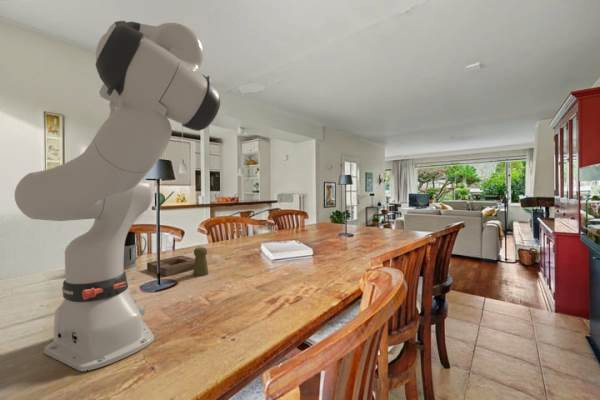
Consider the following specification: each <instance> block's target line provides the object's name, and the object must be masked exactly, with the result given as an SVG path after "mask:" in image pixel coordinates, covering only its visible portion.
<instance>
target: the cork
mask: <svg viewBox="0 0 600 400" xmlns="http://www.w3.org/2000/svg"><path fill="white" fill-rule="evenodd" d="M193 255H194V256H195V257H194V259H195V263H194V270H192V276H193V277H197V278H198V277H206V276H208V275H209V269H208V268H209V267H208V260H207V255H208V248H206V247H203V246H202V247H200V246H199V247H196V248H194V250H193Z"/></svg>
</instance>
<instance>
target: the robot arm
mask: <svg viewBox="0 0 600 400" xmlns="http://www.w3.org/2000/svg"><path fill="white" fill-rule="evenodd" d="M95 49H96V51H95V58H96V60H95V61H96V62H95V68H96V71H97V73H98V75H99V78H100V80H101V81H102V83H103V85H101V87H100V90H99V92H98V93H99V95H100V98H103V99H104V100H106V101H108V102H109V104H108V106H109V108H110V112H109V116H108V117H107V119H105V121H104V122H103V124H101V126H100V128H99V129H98V131H97V132H96V134H95V135H94V137H93V139H92V140H91V142H90V144H89V145H88V146H87V148H86V149H85V150H84V151H83V152H82V153H81V154H80V155H78V156H77V157H75V158H73V159H72V160H69V161H67V162H65V163H63V164H60V165H58V166H55V167H52V168H48V169H44V170H39V171H33V172H29V173H27V174H26V175H24V176H23V177H22V178H21V179H20V180H19V182H18V184H17V185H16V187H15V189H14V201H15V203H16V204H15V205H16V206H17V207H18V210H20V212H21V213H22V214H23V215H25V216H26V217H28V218H29V219H31V220H39V221H40V220H41V221H55V222H67V221H78V220H79V221H82V220H93V219H94V221H93V225H92V226H91V228H89V230H88V231H87V232H85V233H82V234H81V235H78V236H77V237H76V238H74V239H73V240H71V241H70V242H68V244H67V246H66V248H65V249H64V270H65V271H64V274H65V275H64V276H65V278H64V280H63V282H62V286H61V287H62V288H61V289H62V290H61V291H62V297H63V298H64V299H63V300H62V303H61V304H60V305H59V306H58V307H57V308H56V309H55V311H54V320H53V323H54V324H53V325H54V326H53V341H52V342H50V343H49V344H47V345H46V346H45V347H44V349H43V353H44V354H45V355H46V356H49V357H51V358H53V359H55V360H57V361H59V362H60V363H63V364H65V365H67V366H69V367H71V368H73V369H75V370H77V371H79V372H87V370H88V371H92V370H95V369H99V368H102V367H105V366H108V365H111V364H113V363H115V362H118V361H120V360H122V359H125V358H126V357H129V356H131V355H133V354H135V353H137V352H139V351H141V350H143V349H144V348H146V347H148V345H150V344H151V343H152V342H154V340H155V336H154V334H153V332H152V331H151V329H150V328H149V327H148V325H147V324H146V323H145V321H144V320H143V319H142V316H144V315H145V312H146V311H145V306H144V305H139V306H138V305H137V304H136V303H137V297H135V296H134V297H133V295H132V293H131V292H130V290H129V285H128V284H129V283H128V277H127V274H126V273H127V272H126V271H125V269H124V245H125V240H126V236H127V234H128V232H130V230H131V227H132V225H133V224H134V223H135V222H136V220H137V219H138V218H139V217H140V216H141V215H142V214H143V213H145V212H146V211H148V209H149V207H150V206H151V204H152V203H153V198H154V193H153V188H152V185H150V182H149V181H148V180H147V179H146V178H145V177H146V176H147V174H148V173H149V172H150V171H151V170H152V169H153V168H154V166H155V165H156V164H157V163H158V162H159V160H160V158H161V157H162V156H163V154H164V152H165V150H166V149H167V146H168V144H169V142H170V140H171V137H172V135H173V134H172V125H171V121H170V120H172V121H174V122H176V123H179V124H180V125H181V126H182V127H184V128H187V129H190V130H191V131H192V130H193V131H195V132H196V131H197V132H199V131H202V130H205V129H206V128H208V127H209V126H210V125H211V124H212V123H213V122H214V120H215V119H216V117H217V115H218V113H219V110H220V107H221V98H220V95H219V92H218V90H217V88H216V87H215V85H214V84H213V83H212V78H211V76H210V75H208V76H205V75H204V74H202V72H201V71H200V67H201V66H202V64H203V59H204V48H203V44H202V43H201V40H200V38H199V37H198V36H197V34H196V33H195V32H194V31H193V30H192V29H191V28H189V27H188V26H186V25H184V24H181V23H177V22H166V23H165V22H164V23H161V24H159V25H157V26H156V25H149V24H146V23H140V22H136V21H126V20H119V21H114V22H113V23H112V24H110V26H109V27H108V29H107V31H106V32H105V33H104V34H103V35H102V36H101V37H100V39H99V42H98V43H97V46H96V48H95ZM169 119H170V120H169Z"/></svg>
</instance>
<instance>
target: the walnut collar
mask: <svg viewBox="0 0 600 400" xmlns="http://www.w3.org/2000/svg"><path fill="white" fill-rule="evenodd" d="M159 260H160V274H159V275H161V276H164V277H171V276H174V275H179V274H182V273H185V272H191V271H194V263H195V258H193V257H189V256H185V255H183V254H182V255H177V256H173V257H167V258H162V259H159ZM146 269H147V271H150V272H153V273H156V274H158V273H157V260H153V261H150V262H147V263H146Z"/></svg>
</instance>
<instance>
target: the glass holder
mask: <svg viewBox="0 0 600 400" xmlns="http://www.w3.org/2000/svg"><path fill="white" fill-rule="evenodd" d="M140 238H142V239H143V240H144V248H143V250H142V252H141V253H140V254H139V255H138V256H137V246H138V244H139V240H140ZM146 248H147V239H146V237H144V236H139V237H137V238H136V232H134V231H128V234H127V236H126V240H125V245H124V270H128V269H133V268H136V267H137V266H138V263H137V259H139V258H140V257H141V256H142V255H143V254H144V253H145V251H146Z"/></svg>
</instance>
